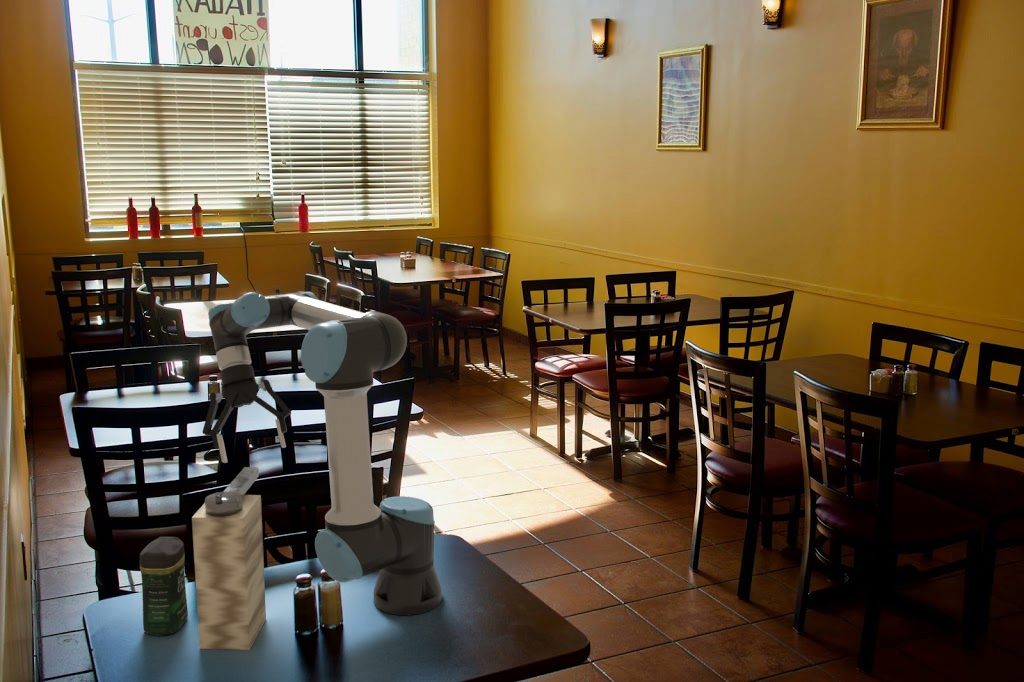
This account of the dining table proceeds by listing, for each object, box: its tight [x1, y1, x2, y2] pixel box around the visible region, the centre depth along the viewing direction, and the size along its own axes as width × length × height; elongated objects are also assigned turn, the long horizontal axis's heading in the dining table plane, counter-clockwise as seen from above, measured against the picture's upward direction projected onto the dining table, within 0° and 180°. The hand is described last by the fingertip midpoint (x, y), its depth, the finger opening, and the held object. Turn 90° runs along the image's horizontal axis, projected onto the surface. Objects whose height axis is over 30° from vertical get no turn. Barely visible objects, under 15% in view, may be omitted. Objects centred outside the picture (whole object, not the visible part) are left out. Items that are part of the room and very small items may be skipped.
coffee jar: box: [139, 536, 189, 637], centre depth 188 cm, size 10×8×19 cm
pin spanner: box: [204, 466, 260, 517], centre depth 187 cm, size 22×7×4 cm, turn 0°
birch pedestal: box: [191, 494, 267, 651], centre depth 184 cm, size 10×12×28 cm
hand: (254, 454), depth 211 cm, fingers open, 13 cm apart
